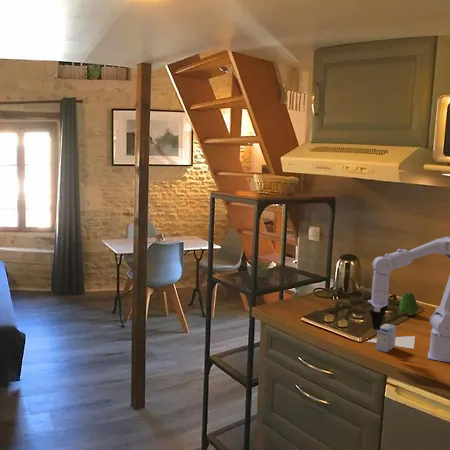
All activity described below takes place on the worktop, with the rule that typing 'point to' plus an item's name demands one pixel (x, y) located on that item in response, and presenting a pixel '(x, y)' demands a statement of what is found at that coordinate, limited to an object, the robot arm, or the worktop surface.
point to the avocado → (408, 303)
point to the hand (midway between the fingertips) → (377, 326)
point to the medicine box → (386, 337)
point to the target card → (401, 341)
